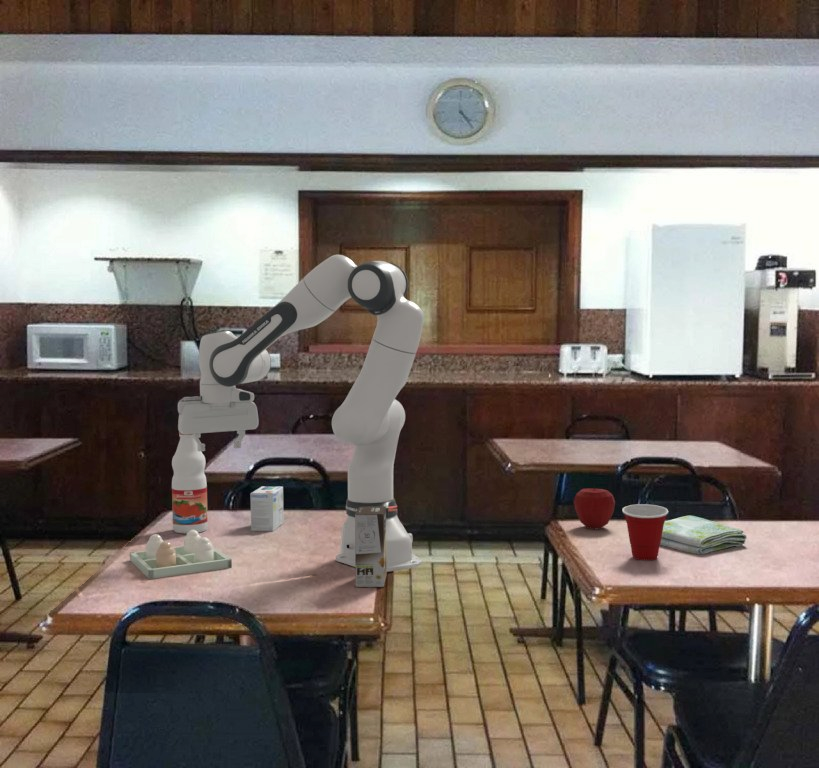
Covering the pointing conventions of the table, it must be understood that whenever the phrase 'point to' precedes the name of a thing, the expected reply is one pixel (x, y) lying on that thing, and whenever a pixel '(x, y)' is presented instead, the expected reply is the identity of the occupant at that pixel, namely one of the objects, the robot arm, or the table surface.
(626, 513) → the plastic cup
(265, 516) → the light bulb box
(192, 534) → the cream egg
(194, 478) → the fruit juice
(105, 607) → the table surface
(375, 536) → the coffee box
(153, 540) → the cream egg
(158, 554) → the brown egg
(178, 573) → the egg tray
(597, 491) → the apple
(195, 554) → the cream egg
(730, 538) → the towel
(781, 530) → the table surface
